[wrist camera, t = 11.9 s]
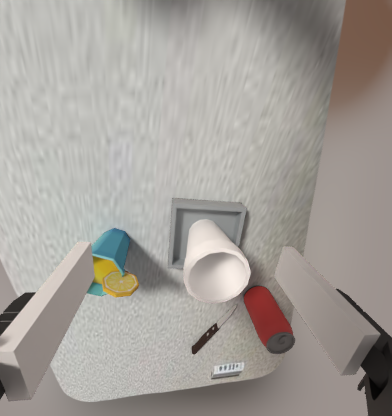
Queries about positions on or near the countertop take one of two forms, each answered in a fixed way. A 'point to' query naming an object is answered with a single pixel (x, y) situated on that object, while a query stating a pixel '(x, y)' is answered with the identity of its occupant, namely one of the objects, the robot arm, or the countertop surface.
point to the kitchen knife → (211, 331)
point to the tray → (199, 210)
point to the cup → (112, 266)
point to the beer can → (269, 320)
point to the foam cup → (213, 264)
